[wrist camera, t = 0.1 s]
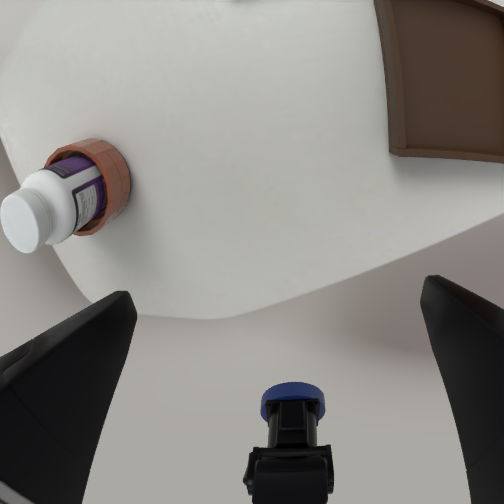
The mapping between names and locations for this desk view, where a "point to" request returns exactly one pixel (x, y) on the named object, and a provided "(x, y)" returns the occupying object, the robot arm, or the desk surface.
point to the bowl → (111, 171)
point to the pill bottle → (54, 203)
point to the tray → (444, 77)
